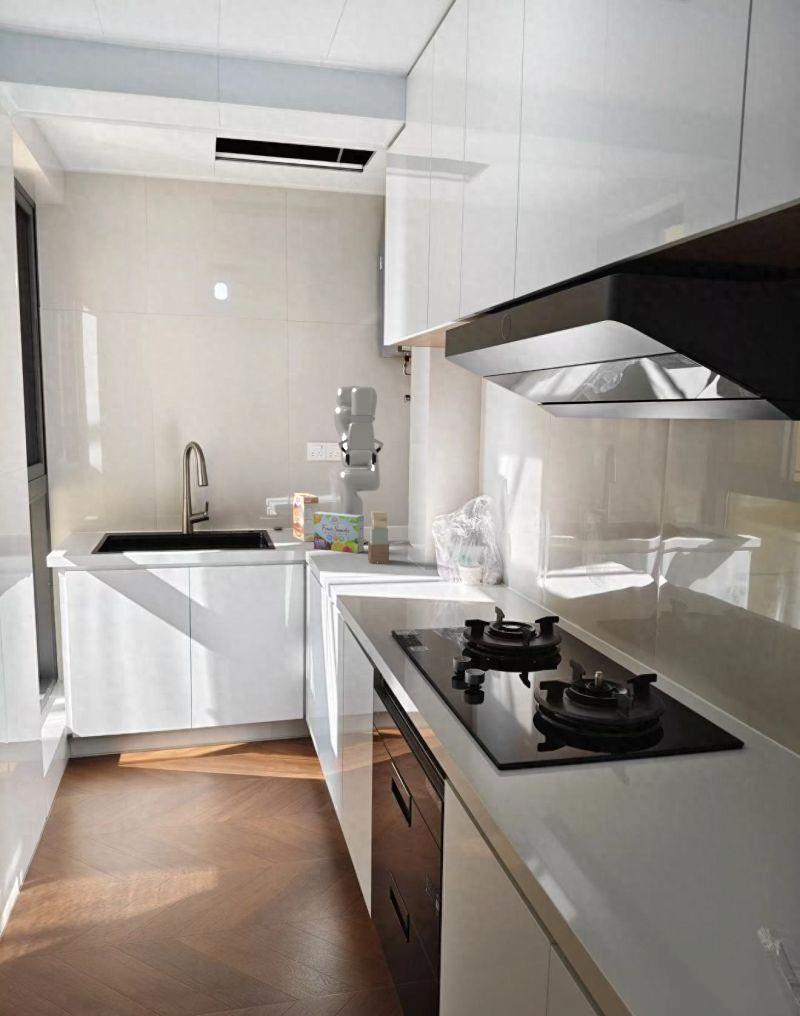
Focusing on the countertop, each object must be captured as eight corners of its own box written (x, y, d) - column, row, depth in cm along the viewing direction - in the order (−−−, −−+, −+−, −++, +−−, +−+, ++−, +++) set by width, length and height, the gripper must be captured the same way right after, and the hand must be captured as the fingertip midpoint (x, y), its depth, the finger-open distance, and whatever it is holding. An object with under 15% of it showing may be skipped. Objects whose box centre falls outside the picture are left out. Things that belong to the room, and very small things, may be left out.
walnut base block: (368, 560, 319) (368, 542, 318) (386, 559, 320) (386, 541, 319) (370, 563, 312) (370, 545, 311) (388, 563, 313) (389, 544, 312)
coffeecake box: (292, 536, 371) (292, 493, 369) (307, 536, 374) (307, 492, 372) (303, 542, 358) (303, 496, 355) (319, 541, 361) (319, 496, 358)
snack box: (312, 548, 342) (312, 512, 340) (320, 546, 347) (320, 510, 345) (357, 553, 332) (357, 516, 330) (364, 551, 337) (364, 514, 335)
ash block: (371, 526, 316) (371, 511, 316) (384, 526, 317) (384, 511, 317) (373, 528, 312) (373, 512, 311) (386, 528, 312) (386, 512, 312)
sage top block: (369, 542, 318) (369, 526, 317) (385, 542, 319) (385, 526, 318) (371, 545, 312) (372, 529, 311) (387, 544, 313) (387, 528, 312)
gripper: (382, 419, 324) (381, 463, 326) (337, 419, 321) (337, 463, 323) (385, 420, 317) (384, 465, 319) (339, 420, 314) (339, 465, 316)
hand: (360, 464), depth 321 cm, fingers open, 9 cm apart
